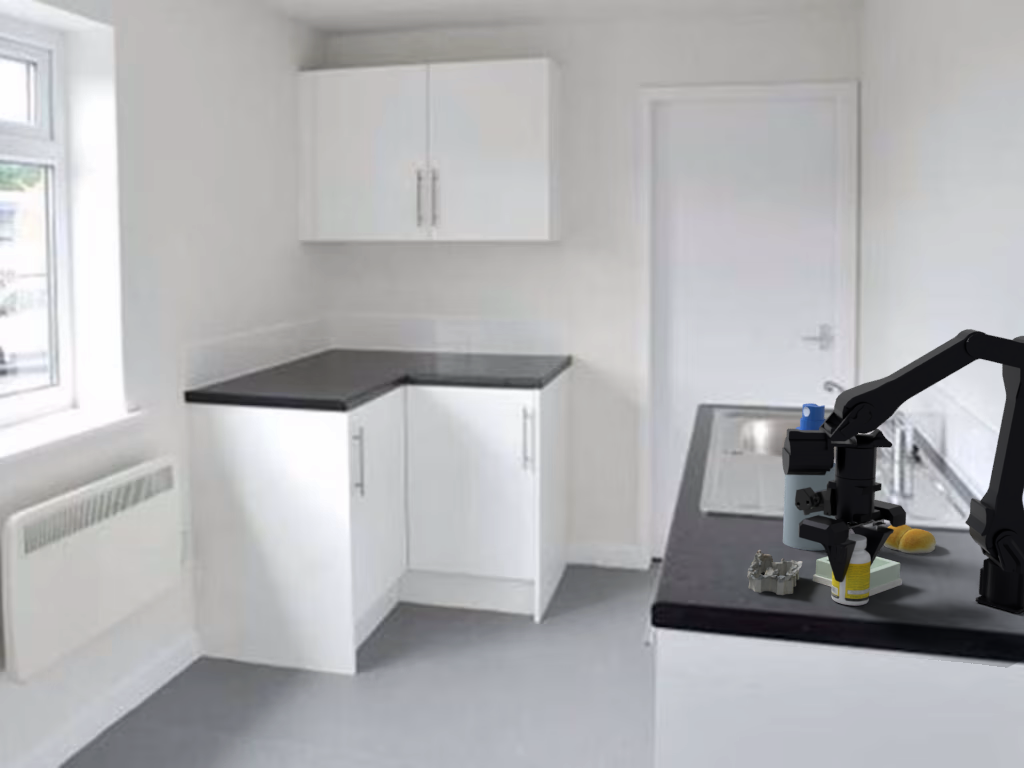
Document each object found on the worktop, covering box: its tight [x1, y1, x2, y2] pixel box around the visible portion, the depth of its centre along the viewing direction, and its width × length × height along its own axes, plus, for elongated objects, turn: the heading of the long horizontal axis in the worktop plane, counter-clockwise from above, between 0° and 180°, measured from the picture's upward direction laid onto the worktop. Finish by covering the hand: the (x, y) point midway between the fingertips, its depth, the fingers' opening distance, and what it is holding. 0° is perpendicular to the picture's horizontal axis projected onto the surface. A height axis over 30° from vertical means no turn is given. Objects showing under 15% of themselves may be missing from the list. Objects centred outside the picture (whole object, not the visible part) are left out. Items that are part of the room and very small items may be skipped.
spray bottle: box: [782, 402, 835, 551], centre depth 180 cm, size 9×9×25 cm
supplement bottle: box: [830, 533, 871, 607], centre depth 152 cm, size 5×5×10 cm
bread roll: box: [883, 524, 937, 555], centre depth 179 cm, size 8×9×4 cm
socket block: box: [812, 555, 903, 597], centre depth 160 cm, size 10×10×4 cm
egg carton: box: [746, 549, 803, 596], centre depth 161 cm, size 11×8×4 cm
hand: (850, 577), depth 153 cm, fingers closed on supplement bottle, 5 cm apart
